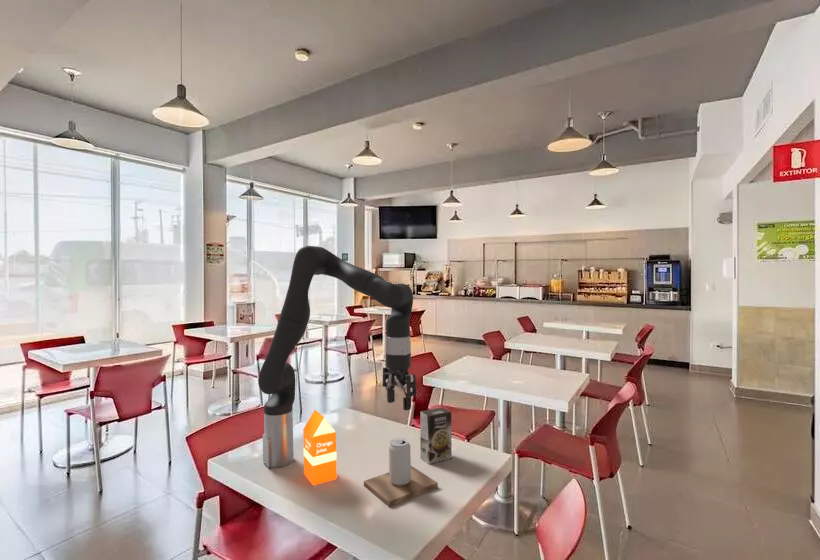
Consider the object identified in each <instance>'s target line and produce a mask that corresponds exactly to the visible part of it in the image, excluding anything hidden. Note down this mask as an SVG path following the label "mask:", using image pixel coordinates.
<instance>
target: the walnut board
mask: <svg viewBox="0 0 820 560" xmlns="http://www.w3.org/2000/svg"><path fill="white" fill-rule="evenodd" d="M438 484H439V482H437V481H436V480H434V479H432V478H431V477H429V476H428V475H427V474H425V473H424V472H422V471H420V470H418V469H417V468H415V467H414V466H412V465H411V480H410V482H409V483H408V484H406V485H403V486H397V485H394V484H392V483H391V482H390V479H389V472H386V473H384V474H383V473H382V474H381V475H378V476H374V477H371V478H368V479H366V480H363V487H365V489H367V490H368V491H369V492H370V493H371V494H372V495H374V496H375V497H377V498H378V499H379V500H380V501H381V502H382V503H384V505H386V506H387V507H389V508H390V507H393V506H395V505H398V504H400V503H402V502H403V503H404V502H406V501H408V500H411V499H413V498H416V497H418V496H420V495H423V494H425V493H429V492H431V491H433V490H436V489H438V487H439V485H438Z"/></svg>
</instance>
